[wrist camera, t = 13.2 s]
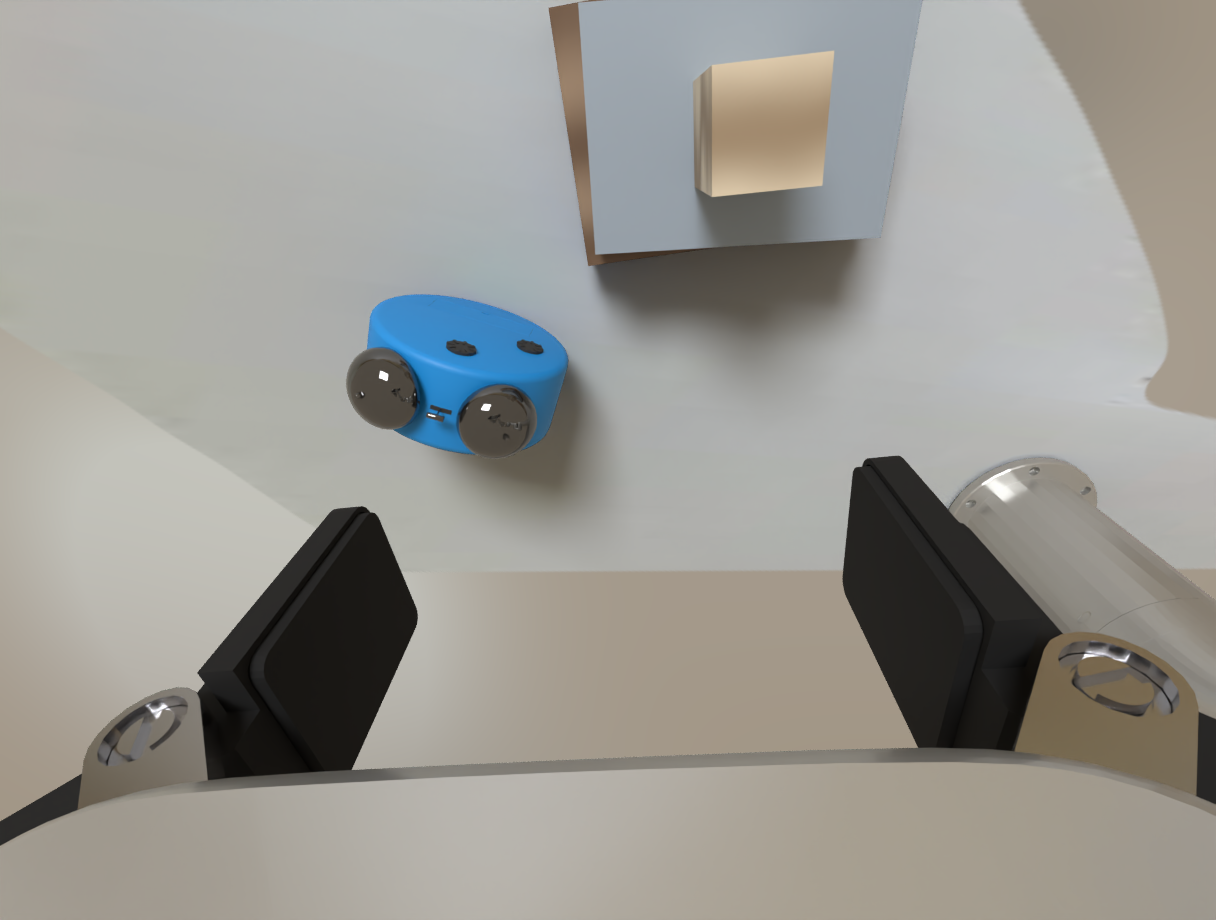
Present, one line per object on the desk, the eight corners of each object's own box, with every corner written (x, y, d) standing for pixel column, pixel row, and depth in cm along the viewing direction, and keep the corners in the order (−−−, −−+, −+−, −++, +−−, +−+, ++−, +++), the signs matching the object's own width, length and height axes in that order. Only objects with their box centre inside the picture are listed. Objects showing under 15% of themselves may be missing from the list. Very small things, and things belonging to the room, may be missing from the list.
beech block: (783, 177, 31) (822, 185, 25) (694, 186, 31) (712, 197, 25) (789, 70, 28) (834, 50, 22) (692, 81, 29) (711, 64, 23)
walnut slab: (852, 217, 39) (874, 224, 36) (591, 255, 41) (588, 266, 38) (871, -38, 32) (900, -60, 29) (556, 21, 34) (548, 8, 31)
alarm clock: (403, 349, 45) (311, 434, 32) (413, 275, 42) (316, 335, 29) (557, 396, 46) (531, 495, 33) (577, 328, 43) (557, 407, 30)
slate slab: (855, 228, 36) (880, 237, 32) (598, 244, 37) (595, 254, 33) (892, -8, 30) (927, -27, 26) (583, 18, 31) (578, 2, 27)
